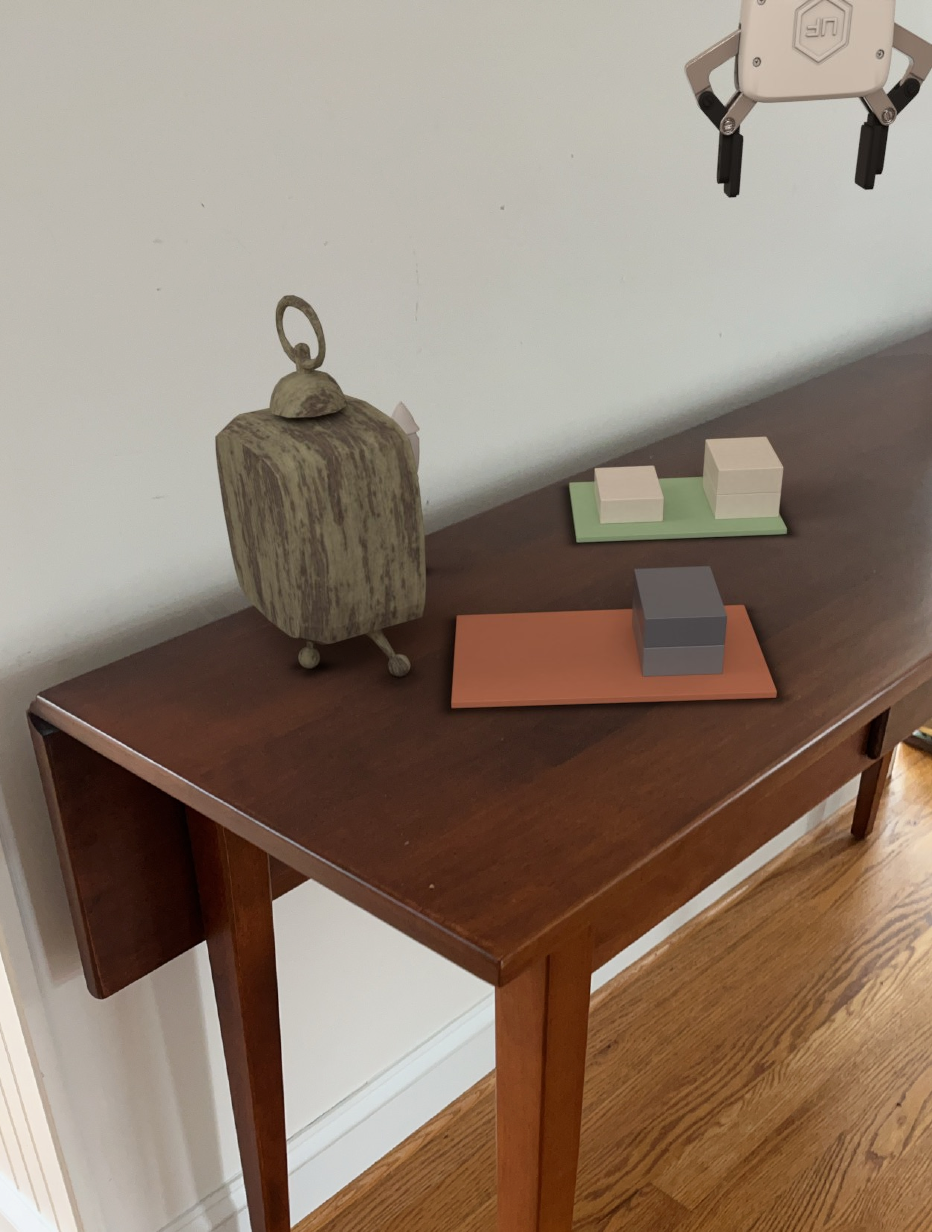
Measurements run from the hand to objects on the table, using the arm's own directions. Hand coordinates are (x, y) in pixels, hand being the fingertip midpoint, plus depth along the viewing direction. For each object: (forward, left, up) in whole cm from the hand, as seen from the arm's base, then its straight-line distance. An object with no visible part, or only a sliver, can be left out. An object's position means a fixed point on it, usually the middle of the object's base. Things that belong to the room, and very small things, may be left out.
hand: (797, 190), depth 92 cm
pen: (+30, +5, -26) cm, 40 cm away
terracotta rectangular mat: (+15, +22, -26) cm, 37 cm away
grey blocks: (+10, +22, -26) cm, 35 cm away
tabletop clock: (+35, +21, -26) cm, 49 cm away
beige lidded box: (+1, -7, -26) cm, 27 cm away
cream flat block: (+11, -7, -26) cm, 29 cm away
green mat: (+7, -7, -26) cm, 28 cm away
